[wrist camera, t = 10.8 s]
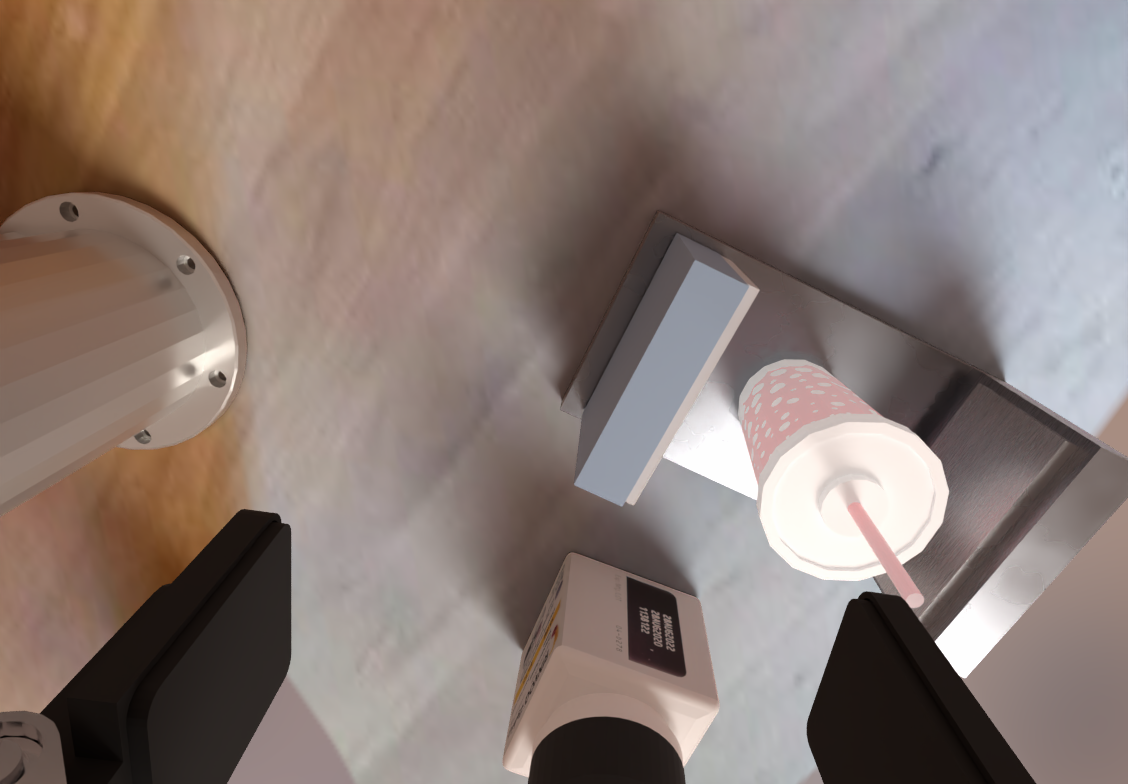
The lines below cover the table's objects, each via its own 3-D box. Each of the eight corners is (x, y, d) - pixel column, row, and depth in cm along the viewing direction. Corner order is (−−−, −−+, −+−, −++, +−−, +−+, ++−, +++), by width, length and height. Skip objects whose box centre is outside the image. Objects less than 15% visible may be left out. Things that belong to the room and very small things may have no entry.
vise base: (561, 400, 33) (543, 489, 25) (657, 210, 30) (674, 236, 21) (880, 547, 35) (965, 678, 26) (1006, 382, 31) (1151, 471, 23)
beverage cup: (861, 455, 32) (1035, 678, 18) (729, 475, 32) (806, 701, 19) (853, 330, 30) (1042, 482, 16) (712, 355, 30) (786, 517, 17)
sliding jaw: (582, 413, 32) (573, 484, 25) (676, 232, 28) (695, 259, 22) (630, 436, 32) (634, 512, 25) (729, 258, 29) (762, 293, 22)
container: (568, 547, 36) (544, 754, 24) (702, 596, 36) (746, 824, 24) (520, 653, 39) (476, 889, 26) (645, 698, 39) (659, 949, 27)
